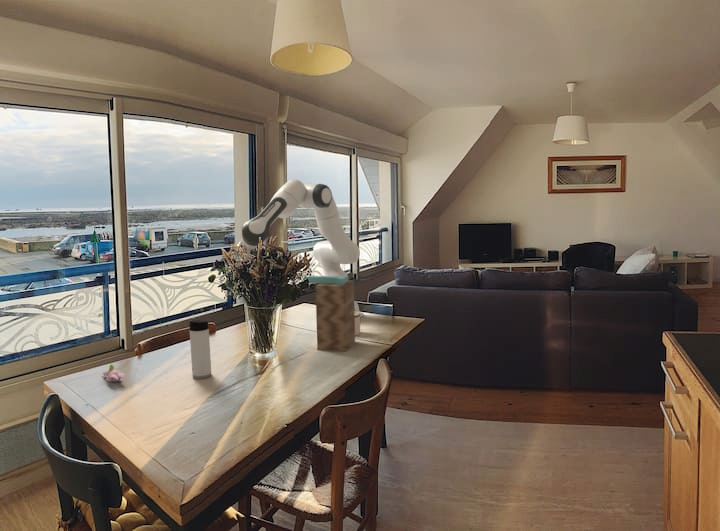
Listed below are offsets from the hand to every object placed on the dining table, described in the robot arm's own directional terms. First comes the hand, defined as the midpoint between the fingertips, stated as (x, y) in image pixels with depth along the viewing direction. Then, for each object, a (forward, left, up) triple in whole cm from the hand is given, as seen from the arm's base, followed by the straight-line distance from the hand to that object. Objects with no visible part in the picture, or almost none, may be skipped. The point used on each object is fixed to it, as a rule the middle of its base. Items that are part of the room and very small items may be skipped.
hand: (304, 269), depth 209 cm
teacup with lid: (-22, +5, -31) cm, 39 cm away
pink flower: (+67, -30, -32) cm, 80 cm away
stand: (-4, +12, -31) cm, 34 cm away
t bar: (-3, +7, -5) cm, 9 cm away
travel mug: (+49, -7, -31) cm, 58 cm away
